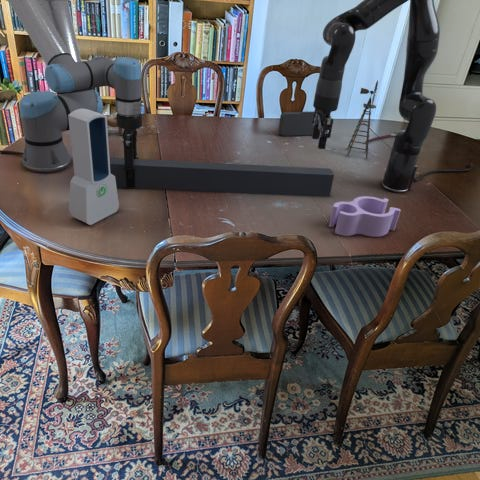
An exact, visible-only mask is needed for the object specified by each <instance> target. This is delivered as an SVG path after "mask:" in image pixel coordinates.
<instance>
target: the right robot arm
mask: <svg viewBox="0 0 480 480" xmlns="http://www.w3.org/2000/svg"><path fill="white" fill-rule="evenodd" d="M408 2H409V11H408V13H409V14H408V27H407V36H406V47H405V48H406V49H405V61H404V62H405V64H404V71H403V72H404V73H403V80H402V86H401V91H400V97H399V104H398V113H399V116H400V117H401V118H402V119H404V120H405V121H407V126H406V128H405V129H401V130H398V131H397V132H396V133H397V134H396V136H395V137H394V140H393V144H392V147H391V151H390V155H389V158H388V161H387V164H386V168H385V171H384V173H383V178H382V181H381V186H382V187H383V188H384V189H385V190H387V191H390V192H392V193H397V194H399V193H400V194H402V193H407V192H408V191H410V190H411V188H412V185H413V182H418V181H419V180H420V179H422V178H423V177H425V176H427V175H429V174H432V173H450V172H451V173H452V172H453V173H455V172H457V173H458V172H459V173H460V172H461V173H463V172H468V171H470V170H471V169H472V168H470V169H468V168H465V169H466V170H456V169H433V170H429V171H426V172H424V173H422V174H421V175H419V176H418V177H415V176H416V173H417V169H418V165H417V161H418V159H419V155H420V152H421V149H422V147H423V143H424V141H425V140H426V139H427V137H428V135H429V133H430V131H431V127H432V125H433V123H434V120H435V117H436V113H437V103H436V101H434V100H433V99H432V98H430V97H428V96H426V95H424V94H423V92H424V91H423V88H424V80H425V77H426V74H427V72H428V70H429V69H430V67H431V66H432V64H433V63H434V61H435V59H436V57H437V55H438V51H439V45H440V35H441V28H440V27H441V26H440V22H439V18H438V13H437V10H436V7H435V0H362V1H361V2H360V3H358V4H357V5H356V6H355V7H353V8H351V9H348V10H346V11H344V12H343V13H341V14H338V15H337V16H335V17H333V18H332V19H331V20H330V21H329V22H327V24H326V25H325V26H324V28H323V31H322V39H323V41H324V42H325V43H326V45H329V46H330V49H329V52H328V55H325V56H323V58H322V60H321V65H320V68H319V69H320V70H319V75H318V79H317V82H316V88H315V93H314V99H313V104H312V106H313V108H314V110H313V112H314V116H313V121H312V123H314V124H313V127H314V129H313V134H312V135H311V138H312V139H313V140H318V144H317V148H318V150H325V149H326V145H327V141H328V139H331V135H332V129H333V123H334V118H332V115H331V113H332V112H336V111H337V110H338V109H339V104H340V98H341V93H342V88H343V80H344V74H345V70H346V65H347V63H348V61H349V58H350V56H351V53H352V52H353V49H354V46H355V43H356V32H358V31H366V30H368V29H370V28H372V27H373V26H374V25H375V24H377V23H378V22H379V21H381V20H382V19H383V18H385V17H386V16H387V15H389V14H390V13H391V12H393V11H395V10H396V9H397V8H400V6H402V5H404V4H405V3H408ZM325 131H326V133H325ZM472 163H473V162H471V163H470V164H471V166H472V167H473V166H474V164H472Z"/></svg>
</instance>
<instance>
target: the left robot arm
mask: <svg viewBox="0 0 480 480" xmlns="http://www.w3.org/2000/svg"><path fill="white" fill-rule="evenodd" d="M5 1H6V2H8V4H9V5H10V7H11V8H12V10H13V12H14V13H15V15H16V17H17V19H18V20H19V22H20V23H21V25H22V26H23V28H24V30H25V32H26V34H27V35H28V37H29V38H30V40H31V42H32V44H33V45H34V46H35V49H36V50H37V51H38V54H39V55H40V57H41V58H42V60H43V62H44V63H45V65H46V67H45V69H44V79H45V81H46V85H47V87H48V88H49V89H50V90H44V91H41V90H37V91H33V92H30V93H27V94H25V95H24V96H22V97H21V99H20V100H19V103H18V104H19V116H20V120H21V126H22V132H23V137H24V148H23V152H22V151H14V150H3V149H1V150H0V154H11V155H17V156H22V158H21V159H22V160H21V161H22V166H23V168H24V169H25V170H27V171H29V172H33V173H39V174H46V173H56V172H61V171H63V170H66V169H67V168H69V167H70V166H71V163H72V159H71V155H70V153H69V151H68V150H67V149H68V148H67V147H66V145H65V143H64V140H63V132H68V131H70V128H69V119H68V115H69V114H70V113H71V112H73V111H75V110H77V109H88V110H91V111H94V112H97V113H100V114H103V113H104V104H103V99H102V96H100V93H99V91H97V90H95V88H102V87H109V88H111V89H114V93H115V94H114V95H115V98H114V100H115V102H114V103H115V112H116V116H115V117H117V126H118V127H120V128H123V132H122V133H123V135H122V139H123V141H122V143H123V158H124V162H125V167H123V169H124V170H126V187H127V188H126V189H136V188H135V168H134V159H140V158H139V156H138V151H137V150H138V149H137V148H138V147H137V140H138V129H140V128H142V127H143V114H142V112H143V108H142V107H144V105H145V104H144V102H142V70H141V69H142V68H141V62H140V60H138V59H137V58H134V57H127V56H122V57H116V58H114V60H113V59H111V58H109V57H106V56H101V55H100V56H99V55H95V56H94V57H92V58H91V59H90V60H82V57H81V53H80V48H79V45H78V40H77V36H76V31H75V28H74V21H73V17H72V13H71V8H70V3H69V0H5ZM103 115H104V114H103ZM118 127H117V128H118Z"/></svg>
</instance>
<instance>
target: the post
mask: <svg viewBox="0 0 480 480" xmlns="http://www.w3.org/2000/svg"><path fill="white" fill-rule="evenodd" d="M109 158H110V173H111V174H112V175H114V176H115V180H116V187H117V188H121V189H128V188H127V187H126V170H124V169H123V167H125V162H124V157H109ZM134 168H135V188H134V189H142V190H143V189H145V190H146V189H147V190H168V191H169V190H170V191H190V192H192V191H193V192H214V193H215V192H216V193H238V194H258V195H259V194H260V195H263V194H264V195H280V196H281V195H283V196H286V195H287V196H307V197H327V198H329V197H331V192H332V186H333V182H334V178H335V174H334V172H333V170H332V169H331V168H324V167H304V166H302V167H301V166H287V165H285V166H284V165H268V164H267V165H263V164H245V163H244V164H243V163H225V162H224V163H223V162H204V161H189V160H187V161H186V160H167V159H148V158H147V159H146V158H139V159H134Z"/></svg>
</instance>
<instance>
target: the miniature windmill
mask: <svg viewBox="0 0 480 480" xmlns="http://www.w3.org/2000/svg"><path fill="white" fill-rule="evenodd" d="M378 84H379V80H376V82H375V86H374V90H370V89H367V88H364V87H360V91H359V94H360V95H368V94H370V97H369V98H368V100H367V103H363V105H362V106H363V108H364V109H363V112H362V114H361V115H360V119H359V120H358V123H357V125H356V128H355V129H354V131H353V134H352V136H351V139H350V140H349V142H348V143H349V144H348V146H347V147H346V150H348V151H347V153H346V156H347V157H349V155H350V153H351V150H352V149H355V150H361V151H362V150H363V151H364V153H365V160H368V154H369V153H368V152H369V150H370V149H369V142H368V141H369V140H370V127H371V115H372V112H371V111H372V109H377V106H376V104H374V103H375V97H376V94H377V90H378V86H379V85H378ZM372 95H373V96H372ZM365 115H368V120H364V117H365ZM361 126H367V130H360V128H361ZM359 132H360V133H366V135H363V134H358V133H359ZM357 136H358V137H364V138H366V141H365V142H361V141H357V140H356V138H357ZM354 143H355V144H362V145H365V148H362V147H361V148H360V147H356V146H355V147H354V146H353V145H354Z"/></svg>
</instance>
